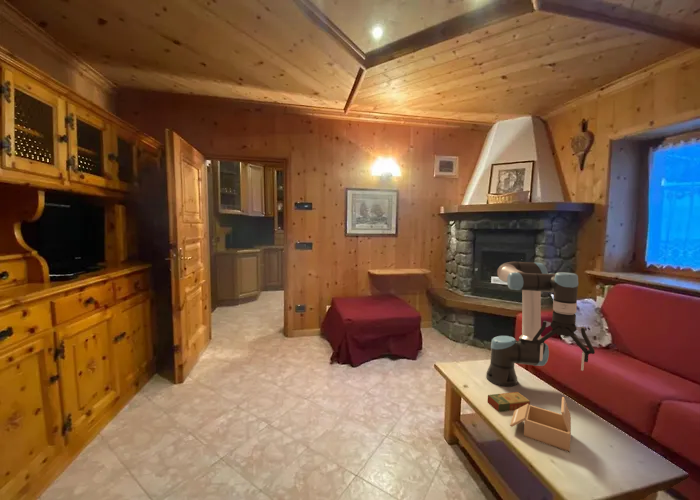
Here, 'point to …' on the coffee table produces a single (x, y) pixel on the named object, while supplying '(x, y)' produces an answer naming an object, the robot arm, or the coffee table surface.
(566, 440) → the shipping box
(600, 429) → the coffee table surface
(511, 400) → the carton
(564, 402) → the flap
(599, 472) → the coffee table surface
